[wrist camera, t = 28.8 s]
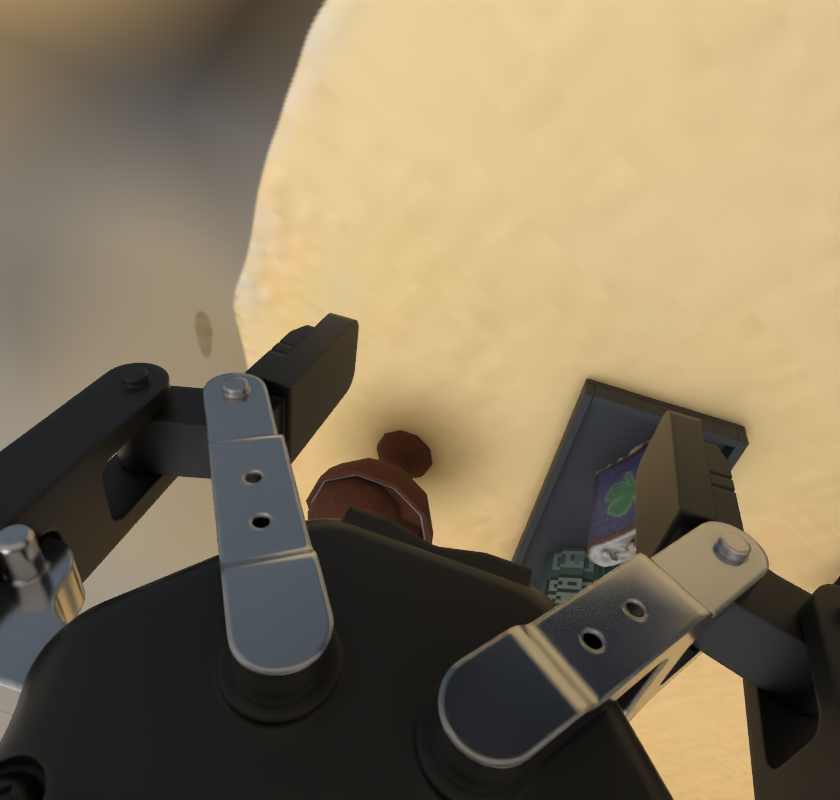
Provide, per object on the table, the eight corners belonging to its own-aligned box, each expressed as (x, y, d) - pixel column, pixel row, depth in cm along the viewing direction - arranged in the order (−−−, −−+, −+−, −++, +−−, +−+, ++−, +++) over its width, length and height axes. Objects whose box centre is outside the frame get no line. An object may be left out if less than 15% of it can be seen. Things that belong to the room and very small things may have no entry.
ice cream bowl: (478, 488, 54) (433, 620, 42) (381, 503, 59) (316, 625, 47) (432, 395, 50) (368, 513, 38) (332, 420, 55) (248, 531, 43)
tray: (744, 426, 43) (749, 443, 41) (615, 624, 58) (615, 643, 56) (586, 378, 45) (584, 392, 43) (502, 583, 60) (498, 599, 58)
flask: (677, 418, 43) (688, 515, 35) (704, 442, 44) (721, 544, 35) (586, 476, 49) (575, 573, 40) (610, 497, 49) (605, 597, 41)
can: (550, 590, 58) (528, 739, 46) (541, 546, 55) (514, 692, 43) (614, 595, 55) (608, 753, 43) (607, 549, 52) (599, 704, 40)
